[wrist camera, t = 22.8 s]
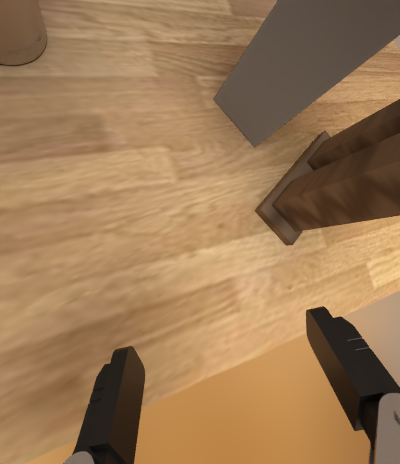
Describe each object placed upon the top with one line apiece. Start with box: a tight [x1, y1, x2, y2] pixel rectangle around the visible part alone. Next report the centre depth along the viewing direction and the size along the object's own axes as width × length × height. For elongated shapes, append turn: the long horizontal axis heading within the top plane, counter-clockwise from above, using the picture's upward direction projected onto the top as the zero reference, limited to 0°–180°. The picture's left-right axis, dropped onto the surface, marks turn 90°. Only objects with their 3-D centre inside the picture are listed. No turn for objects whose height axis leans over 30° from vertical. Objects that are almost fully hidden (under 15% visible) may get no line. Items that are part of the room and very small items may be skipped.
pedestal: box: [214, 0, 400, 147], centre depth 26 cm, size 12×16×32 cm
